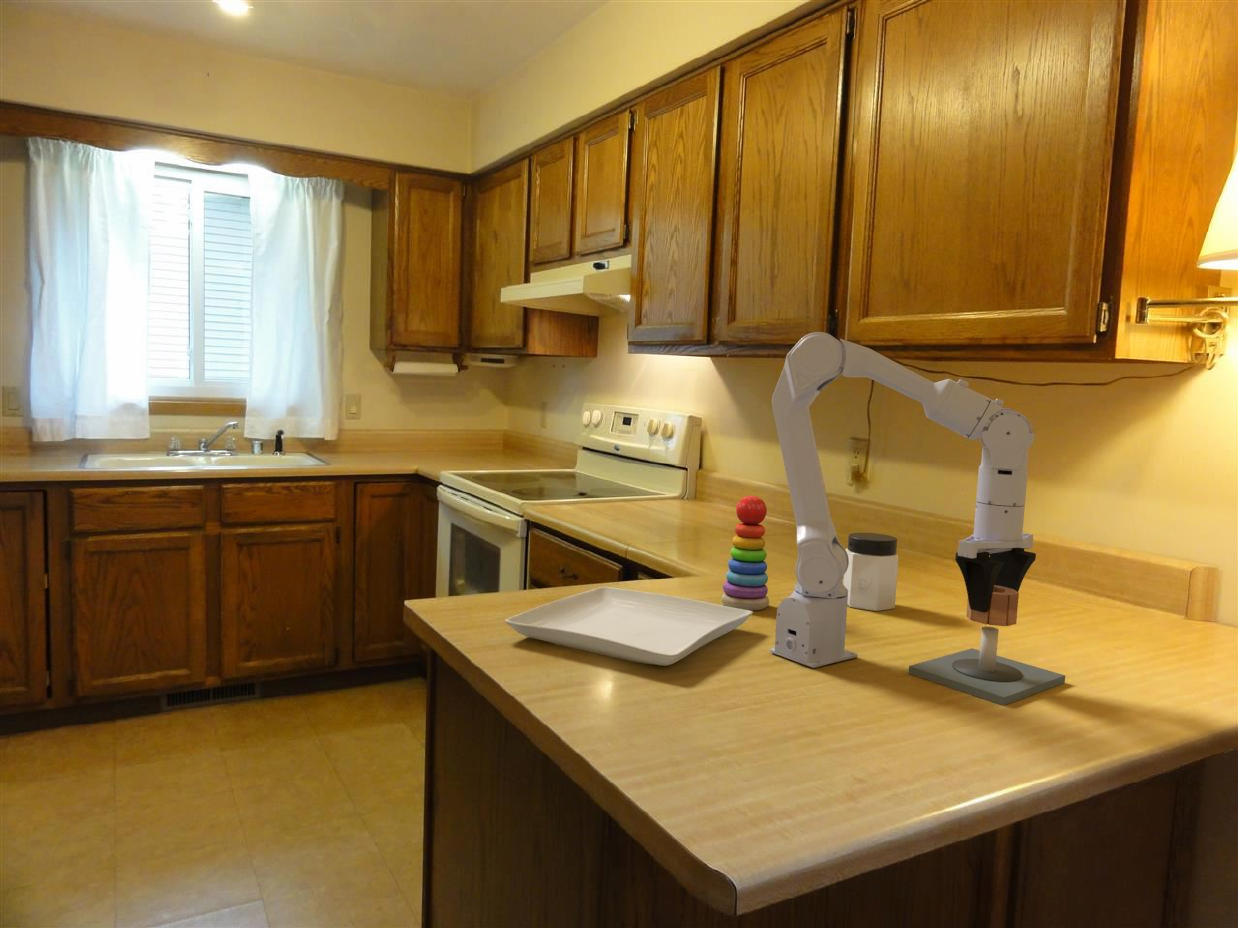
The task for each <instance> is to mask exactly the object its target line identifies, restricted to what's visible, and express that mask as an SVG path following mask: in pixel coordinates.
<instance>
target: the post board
mask: <svg viewBox="0 0 1238 928" xmlns="http://www.w3.org/2000/svg"><path fill="white" fill-rule="evenodd" d="M998 639H999V628H997V627H993V626H982V627H981V633H980V645H979V649H976V648H973V647H972V648H969V649H968V648H967V649H964V650H960V651H958V652H954V653H950V654H946V655H943V656H939V657H935V658H932V659H929V660H924V661H922V662H918V663H914V664H911V665H909V666H908V674H910V675H912V676H915V677H918V678H921V679H923V680H928V681H930V682H933V683H936V684H939V685H942V686H945V687H948V688H950V689H954V690H956V691H960V692H963V693H965V694H969V695H971V696H975V697H977V698H981V699H983V700H986V701H989V702H992V703H994V704H998V705H1002V706H1006V705H1009V704H1011V703H1014V702H1017V701H1020V700H1022V699H1024V698H1028V697H1030V696H1032V695H1035V694H1039V693H1041V692H1044V691H1046V690H1049V689H1052V688H1055V687H1057V686H1061V685H1062V684H1065V683H1066V674H1065V675H1064V674H1062V673H1059V672H1055V671H1052V670H1048V669H1045V668H1041V667H1037V666H1036V665H1035V666H1034V665H1031V664H1027V663H1025V662H1022V661H1021V662H1020V661H1018V660H1015V659H1010V658H1007V657H1003V656H1000V655H997V653H998Z"/></svg>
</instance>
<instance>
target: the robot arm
mask: <svg viewBox="0 0 1238 928" xmlns="http://www.w3.org/2000/svg"><path fill="white" fill-rule="evenodd" d="M840 376H842V377H845V378H868V379H870V380H873V381H875V382H877V383H879V384H881V385H882V386H885V387H888V389H889V388H890V389H892V390H893V391H895V392H898V393H900V394H902V395H904V396H906V397H908V398H910V399H912V400H914V401H917V402H919V403H921V404H922V407H923V411H924V414H925V417H926V418H927V419H928V420H931V421H932V422H935V423H936V424H938V425H941V426H942V427H944V428H946V429H947V430H949V431H953V432H954V433H956V434H957V435H960V436H962V437H964V438H965V439H968V440H969V441H973V440H979V441H980V443H981V445H982V449H981V451H982V452H981V460H980V461H981V462H980V465H979V466H978V474H977V487H976V496H975V497H976V498H975V501H976V502H975V510H974V524H973V534H971V535H969V536H968V537H967V538H965V539H960V540H958V549H957V551H956V553H955V559H954V560H955V562H956V564H957V566H958V567H959V569H960V572H961V575H962V577H963V580H964V584H965V588H966V595H967V601H968V600H969V605H970V609H972V610H976V611H980V612H984V613H985V612H988V610H989V607H990V604H991V599H992V593H993V588H994V585H996V586H997V585H998V586H1002V587H1007V588H1011V589H1014V590H1016V591H1017V592H1018V593H1019V591H1020V588H1021V586H1022V583H1023V580H1024V578H1025V576H1026V574H1027V572H1028V571H1029V569H1030V567H1031V566H1032V564H1033V563H1034V562H1035V561H1036V557H1037V553H1035V552H1033V551H1025V549H1026V550H1030V549H1031V550H1032V549H1033V545H1034V542H1033V541H1034V534H1032V533H1026V532H1023V531H1024V521H1025V520H1024V519H1025V509H1026V508H1025V507H1026V497H1027V494H1026V493H1027V484H1028V473H1029V472H1028V468H1027V464H1028V461H1029V454H1028V450H1029V449H1030V448H1031V446H1032V445H1033V443H1034V440H1035V435H1036V434H1035V433H1034V430H1033V429H1034V428H1033V426H1032V425H1033V424H1032V423H1031V422H1030V421H1029V418H1028V417H1027V416H1025V415H1024V414H1023V413H1021V412H1019V411H1017V410H1014V409H1012V408H1009V407H1007V408H1005V407H1003V405H1004V403H1005V401H1004V400H1002V399H1000V398H996V399H995V400H993V399H991V398H989V397H987V396H985V395H984V394H982V393H980V392H977V391H975V390H974V389H971V388H969V387H968V386H969V385H970V384H969V382H968V381H966V380H964V379H962V378H960V379H958V381H955V380H953V379H952V378H947V379H943V380H940V381H937V382H936V381H935V382H934V381H932V380H930V379H928V378H926V377H924V376H922V375H920V374H918V373H916V372H915V371H913V370H911V369H909V368H908V367H905V366H904V365H902V364H899V363H898V362H896V361H894V360H892V359H890V358H889V357H887V356H884V355H883V354H881V353H878V352H877V351H875V350H873V349H871V348H870V347H866V346H863V345H861V344H858V343H855V342H852V341H849V340H844V339H842V338H840V340H838V339H837V338H836V337H834V336H833V335H831V334H830V333H827V332H823V331H815V332H814V331H813V332H811V333H808V334H805V335H804V336H803V337H801V338H800V339H799V340H798V342H797V343H796V344H795V345H794V346H793V347H792V348H791V350H790V351H788V353H787V354H786V356H785V361H784V365H783V368H782V370H781V373H780V376H779V378H778V381H777V383H776V386H775V388H774V392H773V393H772V397H771V407H772V411H773V412H772V413H773V417H774V421H775V426H776V432H777V436H778V441H779V445H780V446H779V447H780V450H781V451H780V452H781V455H782V457H781V458H782V460H783V461H782V462H783V466H784V471H785V475H786V480H787V485H788V491H789V496H790V500H791V505H792V510H793V513H794V514H793V515H794V519H795V524H796V547H797V548H796V549H797V552H798V555H797V560H796V564H795V569H794V570H795V572H794V573H795V577H796V580H797V582H795V584H794V589H793V592H792V593H791V594H790V595H789V596H787V597H785V598H783V599H782V600H781V601H780V602H779V604H778V607H777V609H776V622H775V639H774V641H775V642H774V647H771V648H769V652H770V653H772V654H774V655H777V656H780V657H782V658H785V659H788V660H791V661H794V662H796V663H799V664H801V665H804V666H807V667H809V668H813V669H815V668H818V667H823V666H826V665H830V664H834V663H839V662H843V661H847V660H850V659H853V658H858V655H859V654H858V652H855V651H852V650H849V649H846V648H845V647H846V646H845V645H846V633H847V631H846V630H847V616H848V605H847V602H848V589H847V588H846V587H845V586H844V585H843V583H844V574H845V573H846V571H847V569H848V565H849V558H848V554H847V552H846V548H845V547H844V546H843V545H842V543H841V542H840V541H839V538H838V534H837V530H836V528H835V524H834V522H833V520H832V517H831V516H832V515H831V511H830V506H829V502H828V496H827V491H826V488H825V487H826V486H825V483H824V481H825V480H824V477H823V472H822V471H823V470H822V468H821V463H820V458H819V452H818V447H817V443H816V438H815V437H816V436H815V433H814V428H813V423H812V418H811V414H810V413H811V412H810V406H812V404H813V402H815V400H816V399H817V397H818V396H819V395H820V393H821V392H822V390H823V389H824V388H825V387H826V386H828V385H830V384H831V383H832V382H833V381H835V380H836V379H838V377H840Z"/></svg>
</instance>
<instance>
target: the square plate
mask: <svg viewBox="0 0 1238 928" xmlns="http://www.w3.org/2000/svg"><path fill="white" fill-rule="evenodd" d="M753 613H754V611H749V610H744V609H738V608H733V607H728V606H725V605H724V604H723V605H721V604H717V603H713V602H707V601H701V600H698V599H692V598H687V597H682V596H680V597H679V596H676V595H675V596H674V595H668V594H662V593H656V592H655V593H654V592H649V591H641V590H635V589H627V588H619V587H611V586H599V587H598V588H597V587H596V588H594V589H593V588H592V589H591V590H586V591H583V592H580V593H579V592H578V593H576V594H573V595H568V596H567V597H563V598H560V599H556V600H554V601H553V600H552V601H550V602H547V603H545V604H542V605H539V606H536V607H534V608H531V609H528V610H526V611H524V612H523V611H522V612H521V613H519V614H515V615H513V616H510V617H508V618H505V620H504V622H505V624H506V625H508V626H510V627H511V629H513V630H514V631H515V632H517V633H518V634H520V635H523V636H525V637H527V638H531V639H535V640H538V641H539V640H540V641H543V642H548V643H550V644H554V645H557V646H562V647H566V648H570V649H575V650H579V651H584V652H590V653H593V654H599V655H601V656H602V655H603V656H607V657H611V658H616V659H619V660H624V661H628V662H629V661H630V662H633V663H638V664H646V665H656V666H664V667H665V666H670V665H673V664H675V663H677V662H678V661H680V660H682V659H684V658H686V657H687V656H688V655H690V654H691V653H693V652H695V651H697V650H698V649H700V648H701V647H703V646H705V645H707V644H709V643H711V642H712V641H714V640H716V639H717V638H719V637H722V636H724V635H725V634H728V633H730V632H732V631H733V630H735V629H737V628H738V627H740V626H742V625H743V624H744V623H745V622H746V621H747V620H748V618H749V617H750V616H752V615H753Z"/></svg>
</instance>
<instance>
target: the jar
mask: <svg viewBox="0 0 1238 928" xmlns="http://www.w3.org/2000/svg"><path fill="white" fill-rule="evenodd" d="M897 547H898V539H897V538H896V537H895V536H892V535H888V534H882V533H875V532H852V533H849V534H848V536H847V548H845V550H846V552H847V554H848V558H849V565H848V569H847V571H846V573H845V574H844V576H843V585H844V586H845V587H846V588H847V589H848V602H847V607H849V608H853V609H860V610H866V611H872V612H880V611H887V610H895V608H896V598H897V597H896V595H897V583H898V569H899V555H898V554H897V551H898V549H897Z"/></svg>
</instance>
